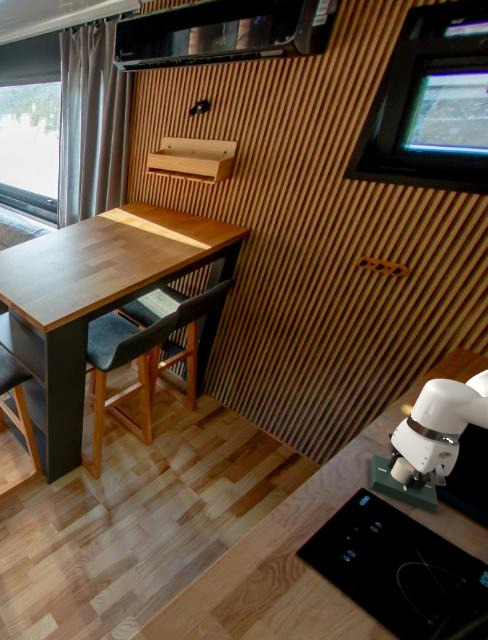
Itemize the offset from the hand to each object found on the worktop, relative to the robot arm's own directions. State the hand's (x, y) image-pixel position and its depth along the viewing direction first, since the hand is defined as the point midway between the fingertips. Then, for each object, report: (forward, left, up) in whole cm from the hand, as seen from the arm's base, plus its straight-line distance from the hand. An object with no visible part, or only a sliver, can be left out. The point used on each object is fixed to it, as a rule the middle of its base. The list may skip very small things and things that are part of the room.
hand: (404, 476), depth 91 cm
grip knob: (0, 0, 0) cm, 0 cm away
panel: (0, 0, -3) cm, 3 cm away
